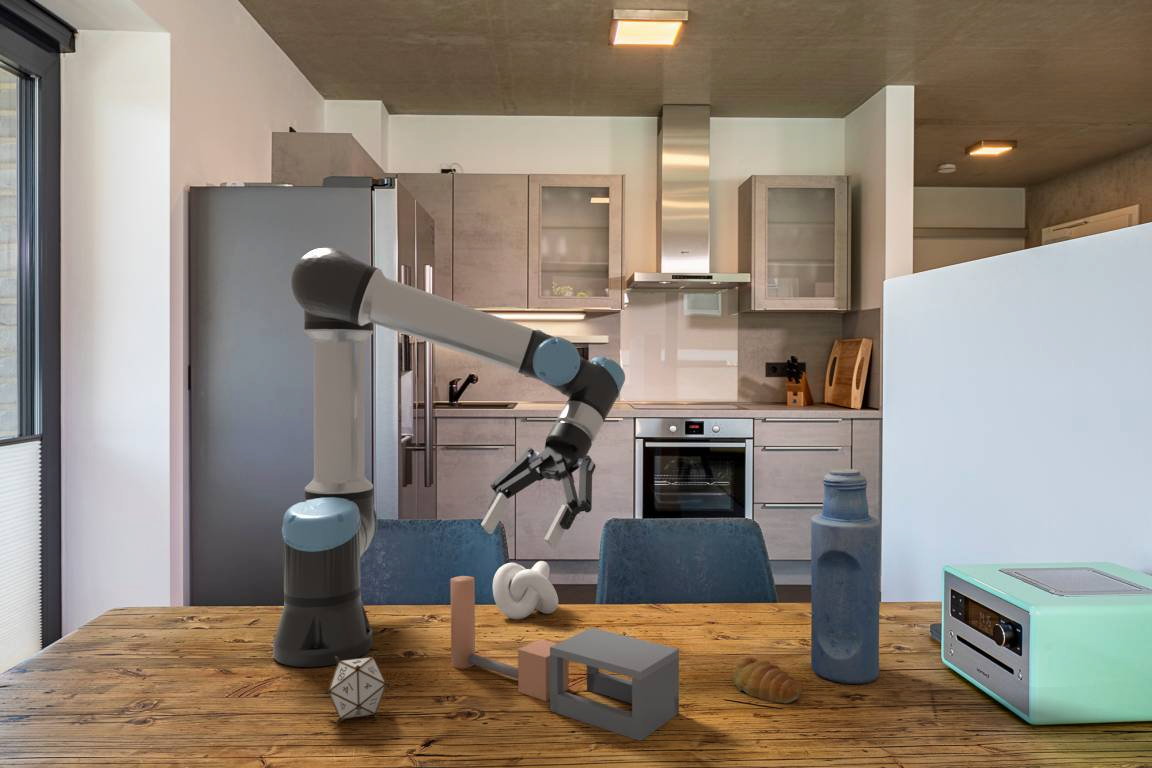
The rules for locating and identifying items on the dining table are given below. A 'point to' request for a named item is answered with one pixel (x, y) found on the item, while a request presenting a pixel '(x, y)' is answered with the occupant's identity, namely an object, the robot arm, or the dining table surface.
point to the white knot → (524, 590)
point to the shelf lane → (618, 681)
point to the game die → (356, 687)
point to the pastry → (765, 681)
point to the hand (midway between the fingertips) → (516, 536)
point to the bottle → (845, 582)
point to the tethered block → (530, 660)
